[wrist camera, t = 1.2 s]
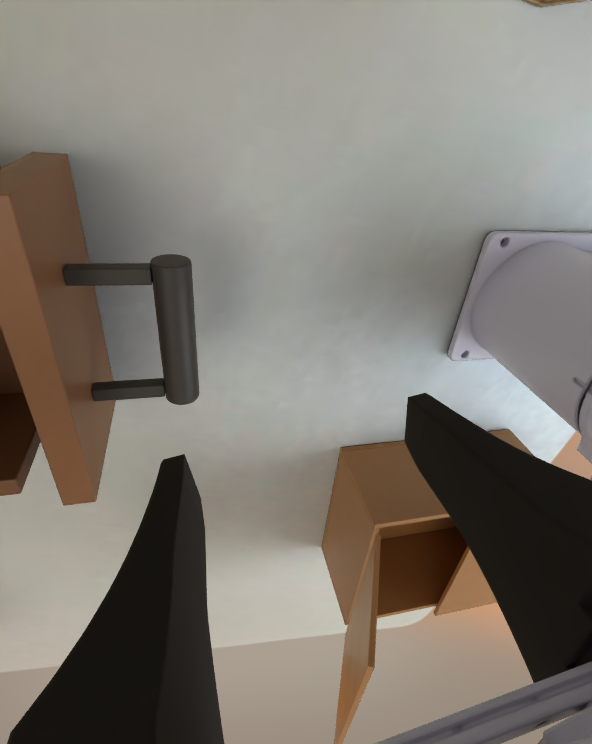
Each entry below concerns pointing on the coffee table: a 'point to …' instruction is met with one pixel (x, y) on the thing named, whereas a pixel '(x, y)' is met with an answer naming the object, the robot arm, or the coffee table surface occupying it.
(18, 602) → the coffee table surface
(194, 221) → the coffee table surface
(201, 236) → the coffee table surface
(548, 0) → the lantern
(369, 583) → the flap
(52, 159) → the drawer
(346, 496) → the carton
